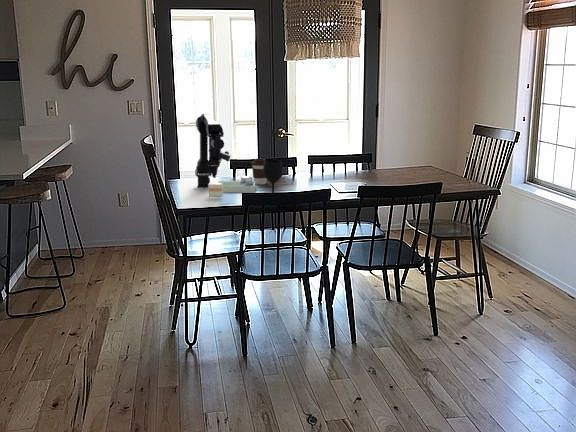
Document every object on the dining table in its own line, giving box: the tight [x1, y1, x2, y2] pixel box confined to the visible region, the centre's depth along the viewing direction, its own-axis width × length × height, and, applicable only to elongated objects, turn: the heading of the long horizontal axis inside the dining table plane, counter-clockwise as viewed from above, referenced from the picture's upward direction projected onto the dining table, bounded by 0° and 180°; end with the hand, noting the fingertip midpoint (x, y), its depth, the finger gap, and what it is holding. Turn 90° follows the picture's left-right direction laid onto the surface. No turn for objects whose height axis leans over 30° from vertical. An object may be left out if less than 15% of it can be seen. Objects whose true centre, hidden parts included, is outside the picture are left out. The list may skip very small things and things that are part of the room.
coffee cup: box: [250, 158, 267, 185], centre depth 368 cm, size 10×10×15 cm
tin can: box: [240, 175, 254, 186], centre depth 350 cm, size 7×7×7 cm
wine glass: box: [263, 159, 284, 194], centre depth 329 cm, size 10×10×20 cm
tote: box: [217, 180, 256, 193], centre depth 350 cm, size 21×15×4 cm
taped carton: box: [207, 182, 223, 197], centre depth 334 cm, size 7×5×7 cm
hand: (215, 176), depth 332 cm, fingers open, 9 cm apart
